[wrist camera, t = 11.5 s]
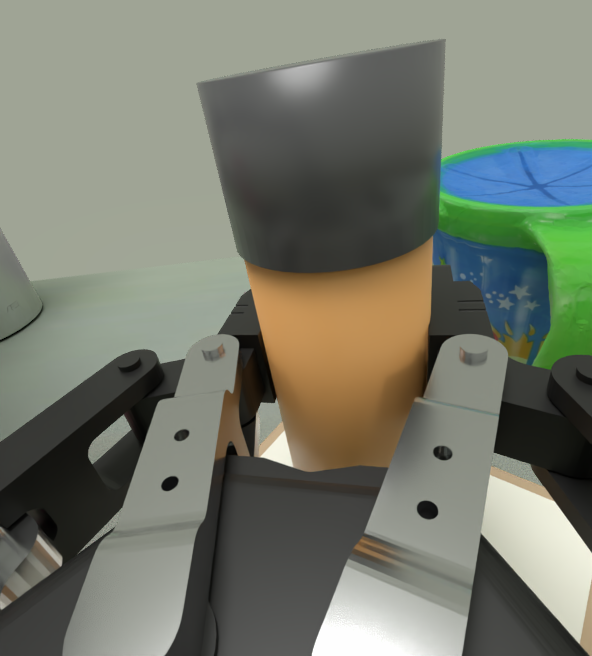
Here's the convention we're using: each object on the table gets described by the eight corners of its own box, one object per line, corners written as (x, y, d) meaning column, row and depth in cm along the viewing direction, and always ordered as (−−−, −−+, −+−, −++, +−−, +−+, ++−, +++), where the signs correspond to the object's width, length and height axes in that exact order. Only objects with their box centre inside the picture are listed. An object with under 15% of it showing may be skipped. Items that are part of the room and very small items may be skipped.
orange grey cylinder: (282, 542, 15) (146, 92, 7) (345, 458, 17) (294, 62, 10) (392, 617, 12) (362, 58, 5) (446, 507, 15) (482, 30, 7)
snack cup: (678, 478, 16) (816, 231, 11) (401, 439, 20) (398, 238, 14) (587, 284, 28) (631, 119, 23) (425, 282, 32) (428, 139, 26)
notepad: (148, 574, 16) (141, 564, 16) (310, 399, 23) (308, 388, 23) (558, 972, 8) (567, 973, 8) (622, 527, 15) (629, 515, 15)
